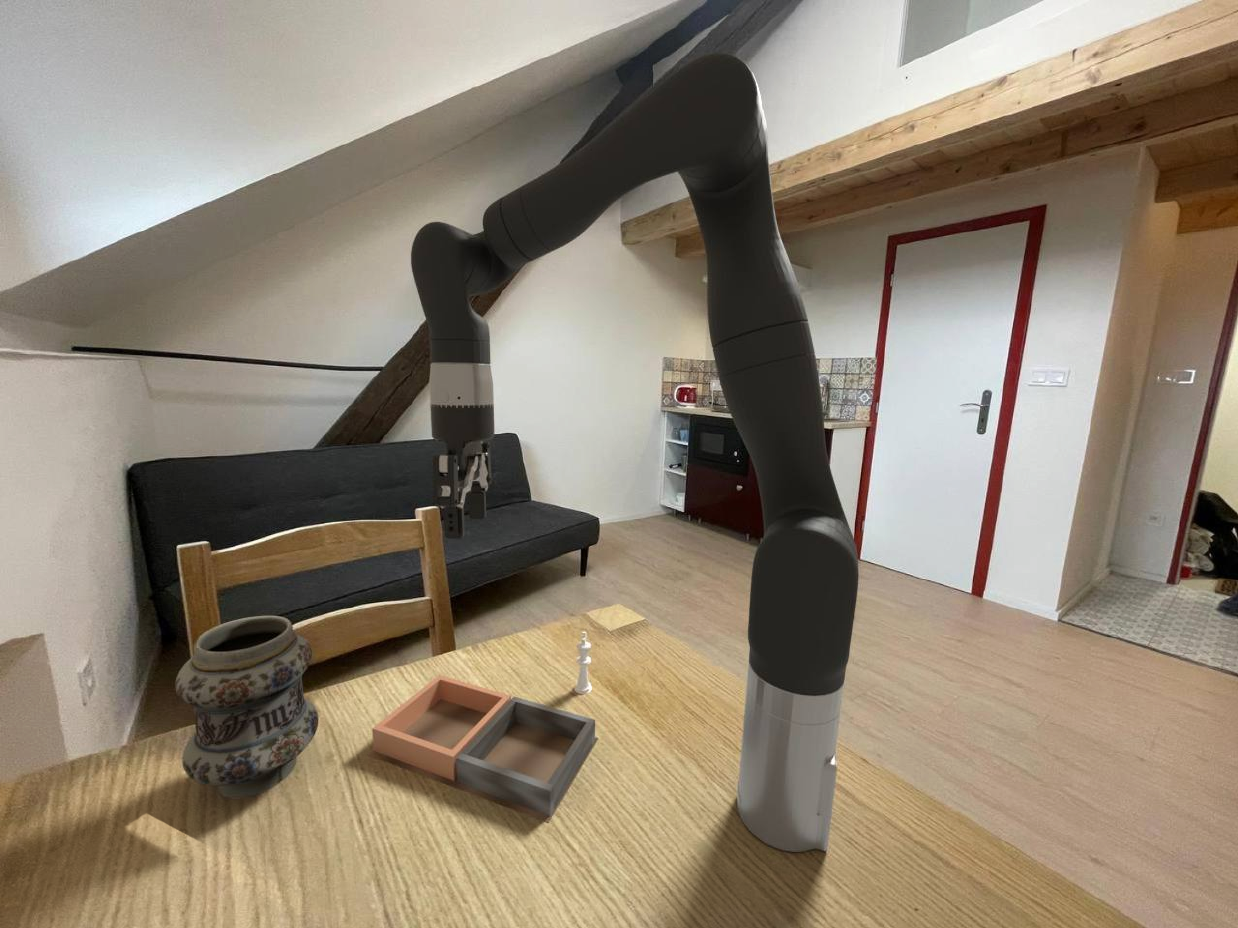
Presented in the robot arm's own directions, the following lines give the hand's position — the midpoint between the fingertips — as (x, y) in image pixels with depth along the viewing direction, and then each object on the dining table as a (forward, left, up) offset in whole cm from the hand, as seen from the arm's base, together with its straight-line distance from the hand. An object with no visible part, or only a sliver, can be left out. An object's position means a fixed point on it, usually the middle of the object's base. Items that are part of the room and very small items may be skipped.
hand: (467, 527), depth 65 cm
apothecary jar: (+14, +19, -26) cm, 36 cm away
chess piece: (-13, -9, -26) cm, 31 cm away
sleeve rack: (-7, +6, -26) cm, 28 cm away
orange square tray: (-1, +6, -25) cm, 26 cm away
